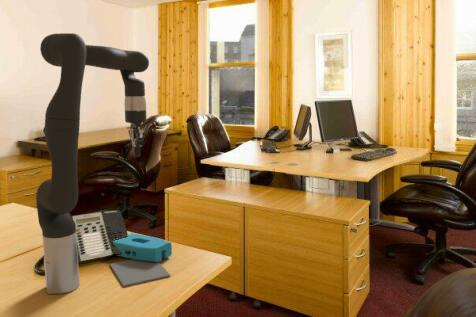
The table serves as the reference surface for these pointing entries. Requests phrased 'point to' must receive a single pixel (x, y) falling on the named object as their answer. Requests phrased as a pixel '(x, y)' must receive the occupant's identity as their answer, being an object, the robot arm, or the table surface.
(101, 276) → the table surface
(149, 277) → the mat
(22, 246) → the table surface
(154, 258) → the block
